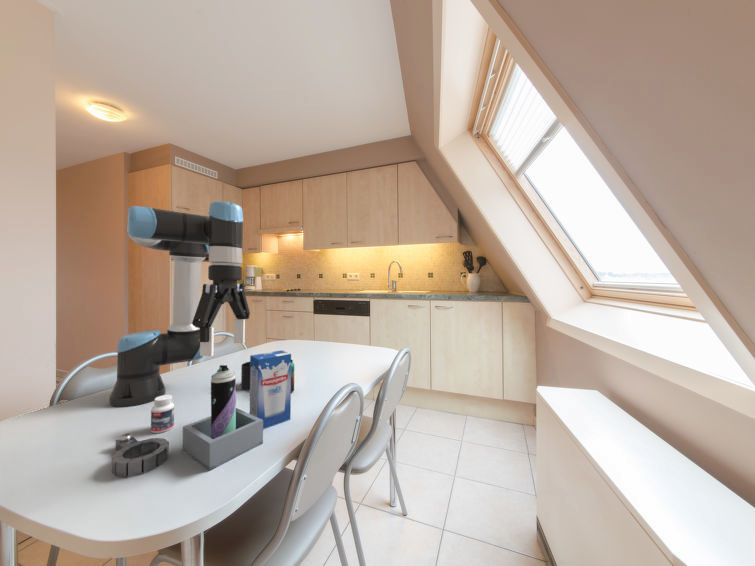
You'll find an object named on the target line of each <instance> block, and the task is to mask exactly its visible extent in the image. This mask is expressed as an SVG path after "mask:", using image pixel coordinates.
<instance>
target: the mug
mask: <svg viewBox="0 0 755 566" xmlns="http://www.w3.org/2000/svg"><path fill="white" fill-rule="evenodd" d="M240 366H241V368H240V369H241V374H240V376H241V377H240V378H241V383H240V385H241V386H240V387H241V389H242V390H244V391H250V361H246V362H244V363H242V364H241V365H240Z"/></svg>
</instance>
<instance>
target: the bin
mask: <svg viewBox="0 0 755 566" xmlns="http://www.w3.org/2000/svg"><path fill="white" fill-rule="evenodd" d="M262 444H264V429H263V420H262V419H260V418H257V417H255V416H253V415H251V414H250V412H249V413H248V412H246V411H245V410H243V409H239V408H237V407H236V430H233V431H231V432H229V433H227V434H224V435H222V436H220V437H217V438H215V439H211V415H210V416H208V417H205V418H202V419H199V420H197V421H194V422H191V423H188V424H186V425H183V426H182V451H183V452H184V453H185V454H186V455H188V456H189V457H190V458H192V459H193V460H194V461H196V462H197V463H198V464H200V465H201V466H202V467H204V468H205V469H207V470H208V471H211V470H212V471H213V470H214V469H216V468H217V467H220V466H222V465H224V464H225V463H228V462H229V461H231V460H233V459H235V458H237V457H239V456H241V455H243V454H245V453H247V452H249V451H251V450H253V449H254V448H256V447H258V446H261V445H262Z"/></svg>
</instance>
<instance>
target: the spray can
mask: <svg viewBox="0 0 755 566" xmlns="http://www.w3.org/2000/svg"><path fill="white" fill-rule="evenodd" d="M236 390H237V389H236V372H234V371H233V370H231V369H230V368H229V367H228V365H226V364H225V365H224V364H219V368H218V370H216V372H215V373H213V374H211V377H210V412H211V413H210V416H211V439H215V438H217V437H220V436H222V435H224V434H227V433H229V432H231V431H233V430H236V408H237V407H236V406H237V405H236V403H237V402H236V401H237V397H236V396H237V395H236V394H237V393H236V392H237V391H236Z"/></svg>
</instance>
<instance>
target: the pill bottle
mask: <svg viewBox="0 0 755 566" xmlns="http://www.w3.org/2000/svg"><path fill="white" fill-rule="evenodd" d="M153 401H154V406H152V407H151V410H150V432H151V433H153V434H162V433H165V432H167V431H170V430H172V429H173V428H174V426H175V404H174V403H173V402H172V401H173V395H171V394H164V395H163V396H159V397H156V398H155V400H153Z"/></svg>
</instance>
